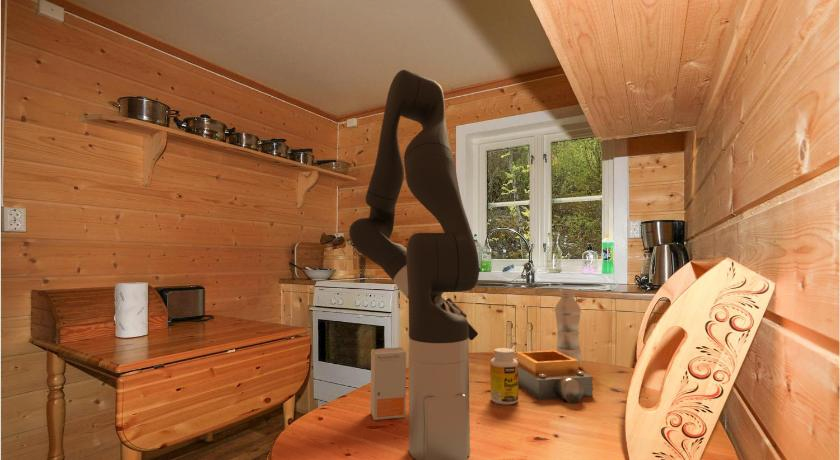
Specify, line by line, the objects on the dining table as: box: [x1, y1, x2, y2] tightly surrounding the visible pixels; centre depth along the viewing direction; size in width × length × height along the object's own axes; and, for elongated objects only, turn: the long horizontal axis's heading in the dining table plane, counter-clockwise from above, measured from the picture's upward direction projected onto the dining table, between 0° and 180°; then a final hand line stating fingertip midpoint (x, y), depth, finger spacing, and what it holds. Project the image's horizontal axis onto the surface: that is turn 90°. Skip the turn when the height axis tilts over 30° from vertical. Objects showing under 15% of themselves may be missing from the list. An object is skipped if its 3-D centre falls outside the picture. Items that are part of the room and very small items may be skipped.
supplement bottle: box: [489, 347, 519, 406], centre depth 88 cm, size 6×6×10 cm
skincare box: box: [370, 347, 407, 421], centre depth 81 cm, size 6×4×12 cm
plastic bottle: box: [554, 288, 583, 366], centre depth 114 cm, size 6×7×20 cm
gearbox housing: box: [514, 349, 594, 404], centre depth 96 cm, size 20×12×6 cm, turn 11°
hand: (470, 341), depth 91 cm, fingers open, 8 cm apart
